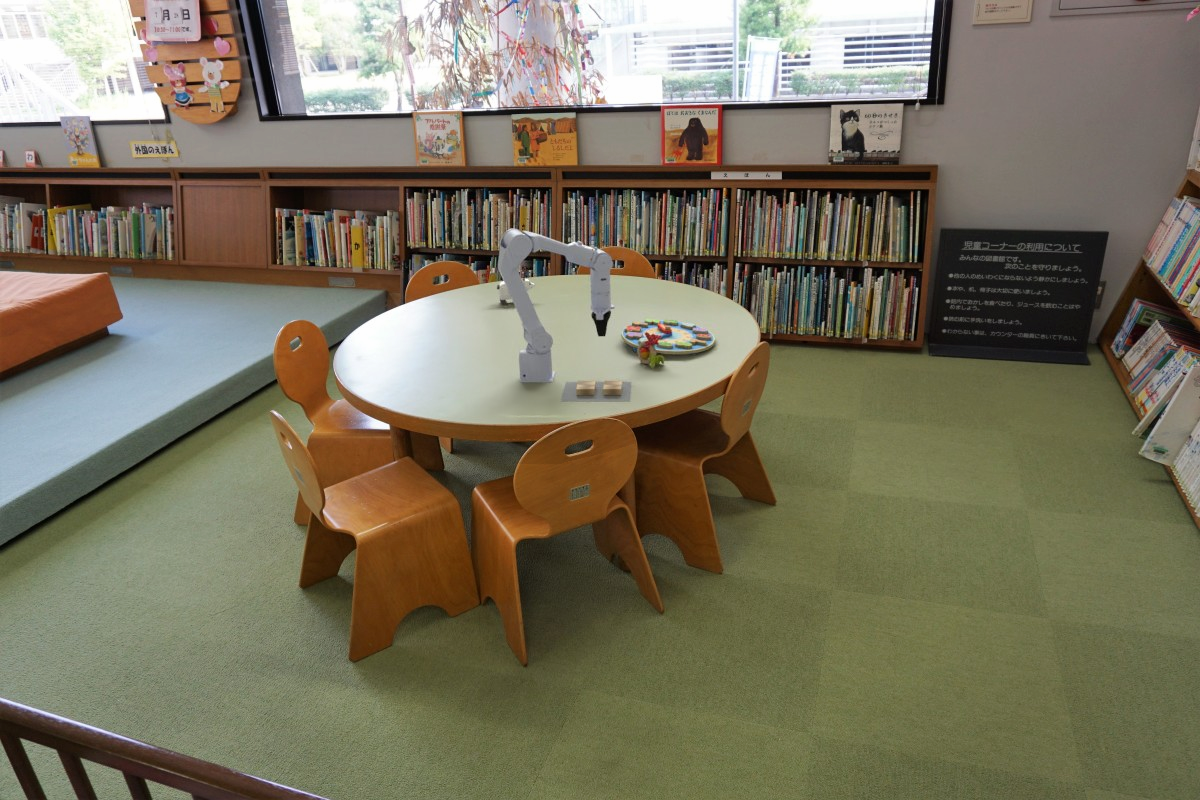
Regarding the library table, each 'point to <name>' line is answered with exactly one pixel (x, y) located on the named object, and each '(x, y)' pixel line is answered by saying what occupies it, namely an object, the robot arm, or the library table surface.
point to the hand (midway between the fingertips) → (601, 335)
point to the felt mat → (570, 393)
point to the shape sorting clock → (669, 336)
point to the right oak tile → (612, 388)
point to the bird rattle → (649, 351)
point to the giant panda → (505, 294)
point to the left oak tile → (586, 388)
